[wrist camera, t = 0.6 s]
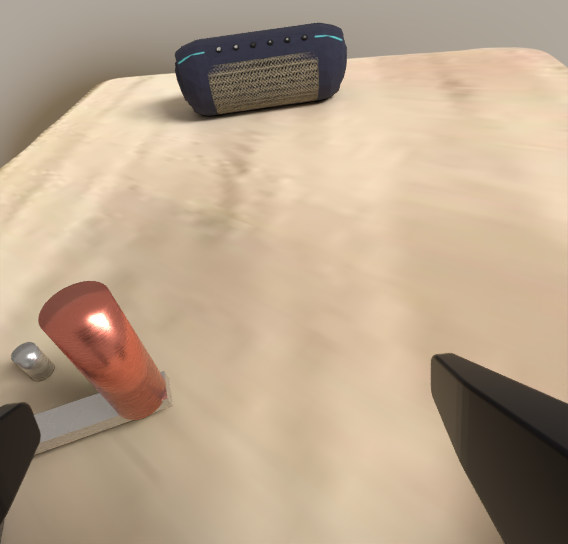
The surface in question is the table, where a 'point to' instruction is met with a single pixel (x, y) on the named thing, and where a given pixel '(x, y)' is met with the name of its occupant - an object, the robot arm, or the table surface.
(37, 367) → the base
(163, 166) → the table surface
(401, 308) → the table surface
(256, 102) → the portable speaker
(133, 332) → the lever
